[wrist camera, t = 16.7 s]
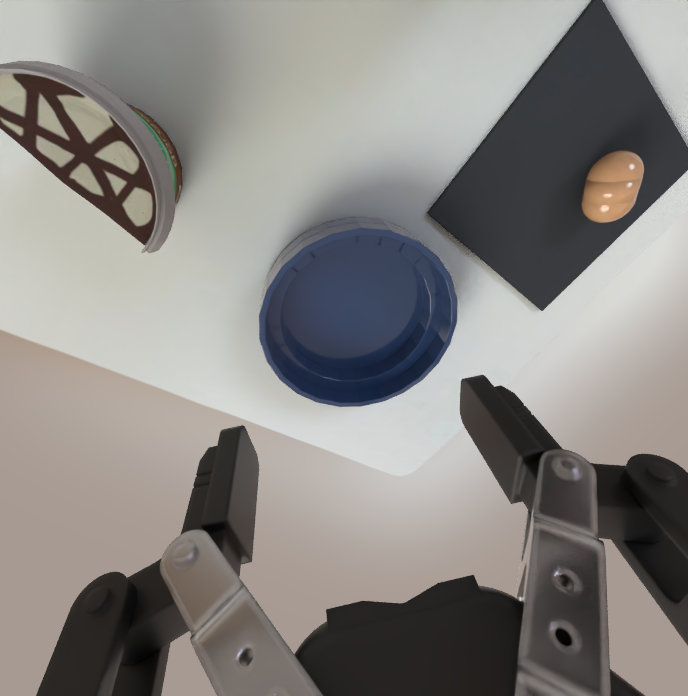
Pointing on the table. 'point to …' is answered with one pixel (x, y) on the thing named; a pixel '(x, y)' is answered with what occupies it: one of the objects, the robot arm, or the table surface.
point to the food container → (94, 145)
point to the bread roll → (612, 186)
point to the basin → (356, 312)
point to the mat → (562, 162)
